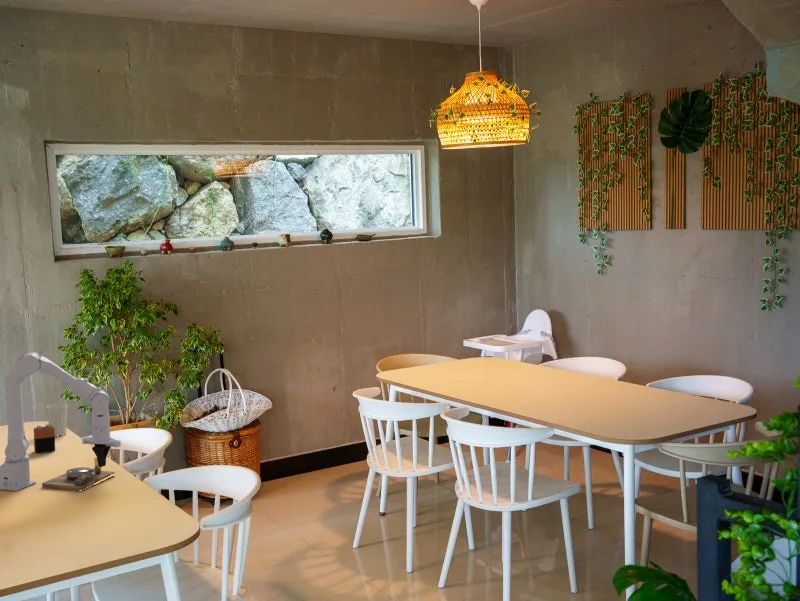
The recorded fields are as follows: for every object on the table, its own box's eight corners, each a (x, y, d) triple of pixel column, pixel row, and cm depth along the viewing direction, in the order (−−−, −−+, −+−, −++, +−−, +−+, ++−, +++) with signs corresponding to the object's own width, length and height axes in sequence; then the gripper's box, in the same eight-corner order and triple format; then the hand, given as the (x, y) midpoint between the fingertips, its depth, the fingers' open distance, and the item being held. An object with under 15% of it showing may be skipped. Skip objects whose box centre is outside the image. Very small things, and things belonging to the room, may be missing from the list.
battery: (55, 451, 327) (54, 425, 327) (36, 453, 324) (35, 427, 323) (53, 448, 331) (52, 423, 330) (34, 451, 327) (33, 425, 326)
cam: (72, 481, 281) (72, 466, 281) (62, 476, 287) (62, 461, 287) (106, 474, 289) (105, 459, 289) (95, 469, 295) (95, 455, 295)
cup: (61, 437, 349) (60, 408, 348) (43, 436, 351) (42, 407, 350) (72, 432, 357) (71, 404, 356) (55, 432, 359) (54, 403, 358)
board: (81, 491, 276) (80, 478, 276) (42, 487, 281) (41, 474, 280) (115, 476, 294) (114, 464, 293) (77, 472, 298) (77, 460, 298)
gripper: (126, 425, 291) (127, 465, 292) (92, 422, 296) (93, 461, 297) (111, 430, 284) (113, 470, 285) (77, 426, 289) (78, 466, 291)
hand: (102, 466), depth 291 cm, fingers closed, pressing on cam
